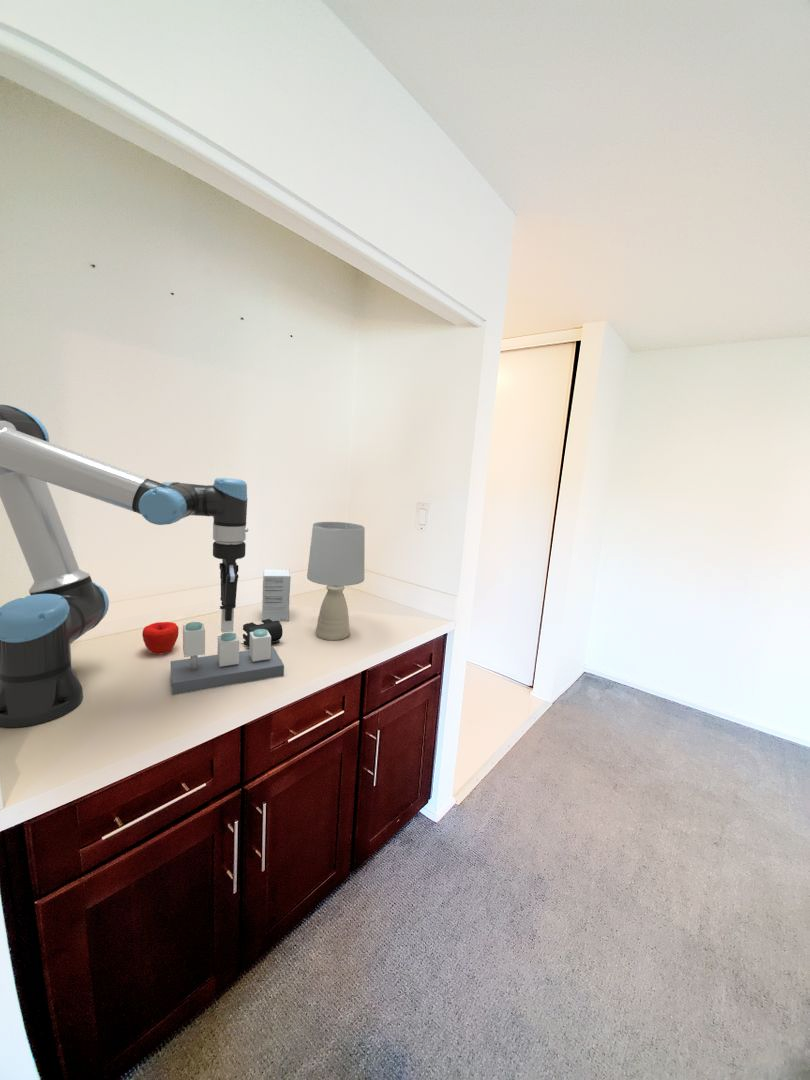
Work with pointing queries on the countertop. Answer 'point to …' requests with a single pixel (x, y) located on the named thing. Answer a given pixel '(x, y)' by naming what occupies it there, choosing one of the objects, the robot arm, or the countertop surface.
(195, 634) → the button near
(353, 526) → the lamp
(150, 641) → the apple
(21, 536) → the robot arm
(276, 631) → the end cap
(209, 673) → the mount
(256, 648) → the button far
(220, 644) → the button mid
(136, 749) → the countertop surface
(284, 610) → the supplement box
